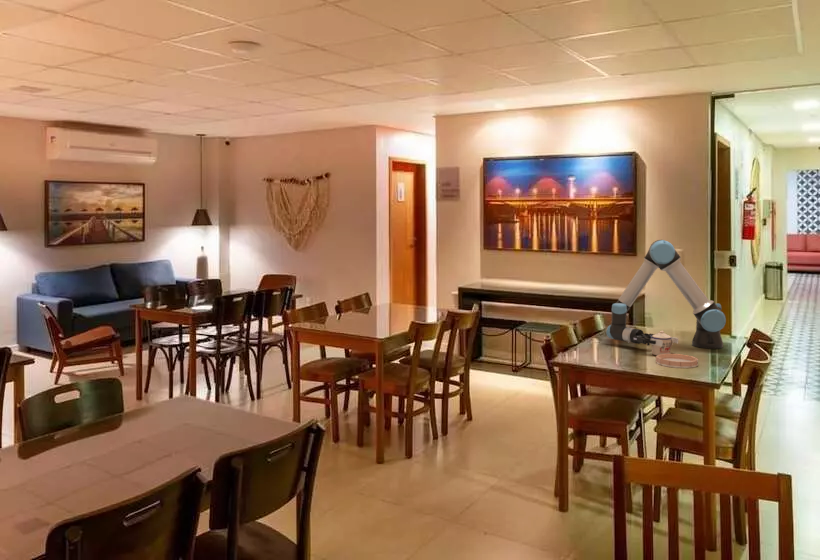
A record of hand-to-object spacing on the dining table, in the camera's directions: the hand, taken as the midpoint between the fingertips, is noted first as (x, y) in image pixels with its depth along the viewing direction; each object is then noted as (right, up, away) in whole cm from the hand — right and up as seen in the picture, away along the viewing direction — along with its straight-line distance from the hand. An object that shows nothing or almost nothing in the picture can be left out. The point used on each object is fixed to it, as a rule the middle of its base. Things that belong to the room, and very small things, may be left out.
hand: (670, 342), depth 330 cm
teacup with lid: (-2, -6, +4) cm, 8 cm away
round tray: (-3, -9, -16) cm, 19 cm away
